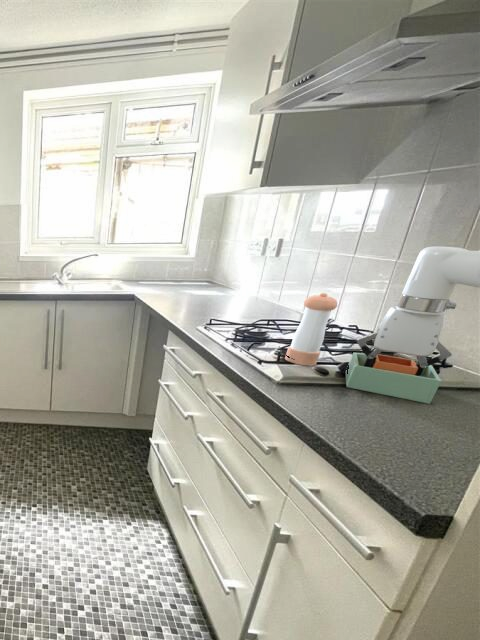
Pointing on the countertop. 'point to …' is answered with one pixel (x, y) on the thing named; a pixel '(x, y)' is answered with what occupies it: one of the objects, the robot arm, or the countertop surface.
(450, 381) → the countertop surface
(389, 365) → the small bin
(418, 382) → the big bin
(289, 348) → the pepper shaker
